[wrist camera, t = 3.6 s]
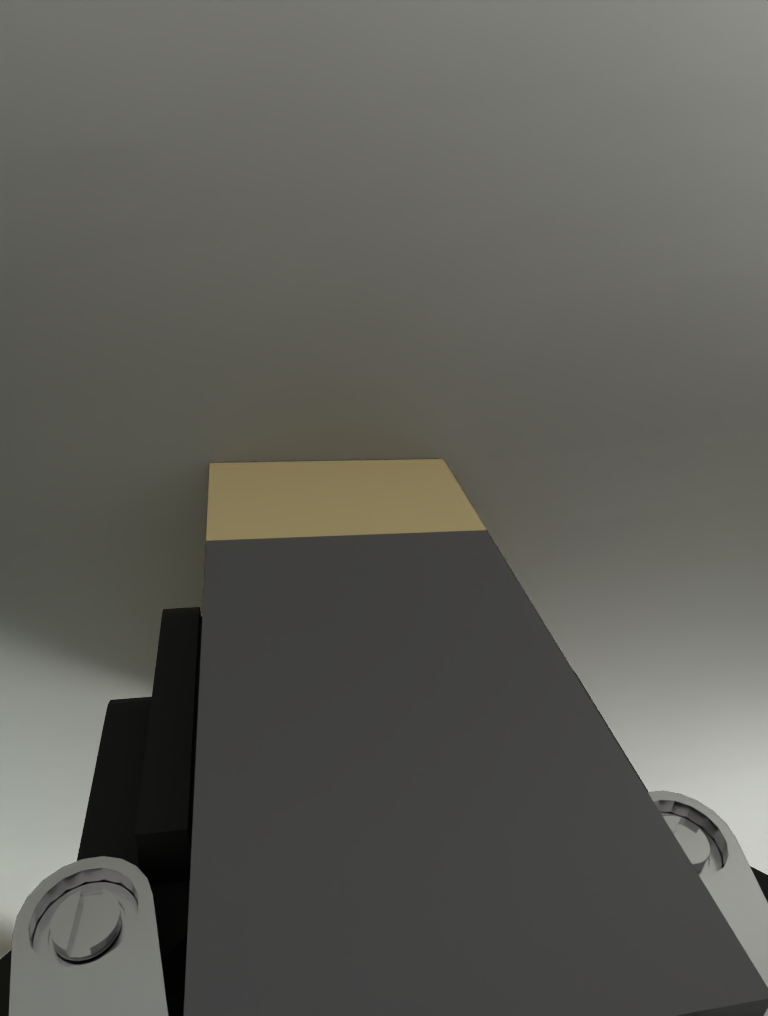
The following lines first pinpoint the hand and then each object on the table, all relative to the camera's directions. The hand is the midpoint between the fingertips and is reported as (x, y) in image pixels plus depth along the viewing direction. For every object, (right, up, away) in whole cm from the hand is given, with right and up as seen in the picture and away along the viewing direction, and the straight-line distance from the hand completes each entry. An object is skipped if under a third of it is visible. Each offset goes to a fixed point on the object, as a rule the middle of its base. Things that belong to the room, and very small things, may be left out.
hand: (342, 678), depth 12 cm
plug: (0, +1, +2) cm, 2 cm away
